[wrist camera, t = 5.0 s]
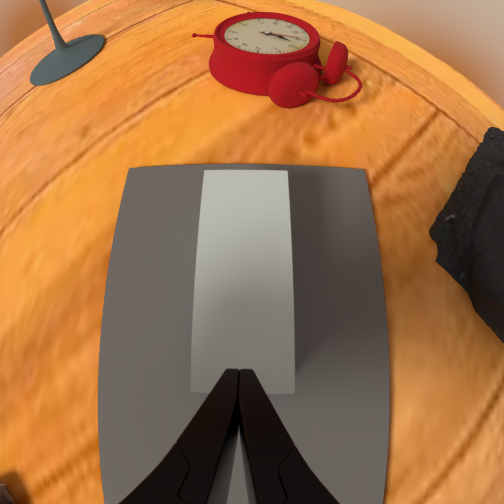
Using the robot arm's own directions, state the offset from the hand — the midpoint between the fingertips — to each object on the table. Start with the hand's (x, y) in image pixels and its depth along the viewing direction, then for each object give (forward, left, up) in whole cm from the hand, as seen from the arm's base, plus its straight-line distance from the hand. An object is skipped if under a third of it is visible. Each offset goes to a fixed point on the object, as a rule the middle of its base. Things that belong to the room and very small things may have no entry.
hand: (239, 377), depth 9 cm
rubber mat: (0, -1, -7) cm, 7 cm away
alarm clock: (+14, -21, -7) cm, 26 cm away
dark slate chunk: (-12, -23, -7) cm, 27 cm away
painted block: (-1, +1, -4) cm, 4 cm away
